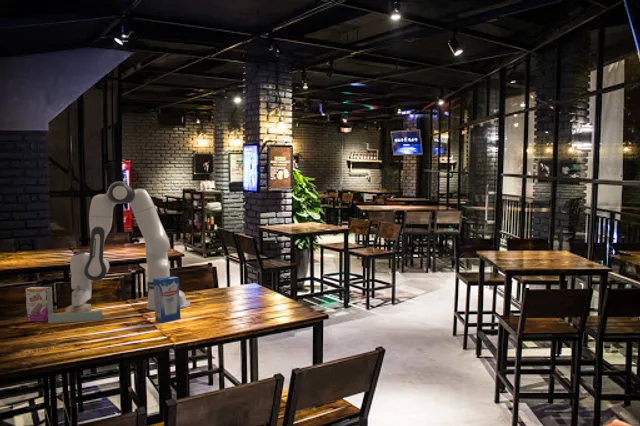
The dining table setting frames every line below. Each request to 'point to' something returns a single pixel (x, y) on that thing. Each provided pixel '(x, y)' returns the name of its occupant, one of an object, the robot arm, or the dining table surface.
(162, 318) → the milk carton
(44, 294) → the candy bar box
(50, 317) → the pale grey bar
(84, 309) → the block
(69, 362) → the dining table surface
